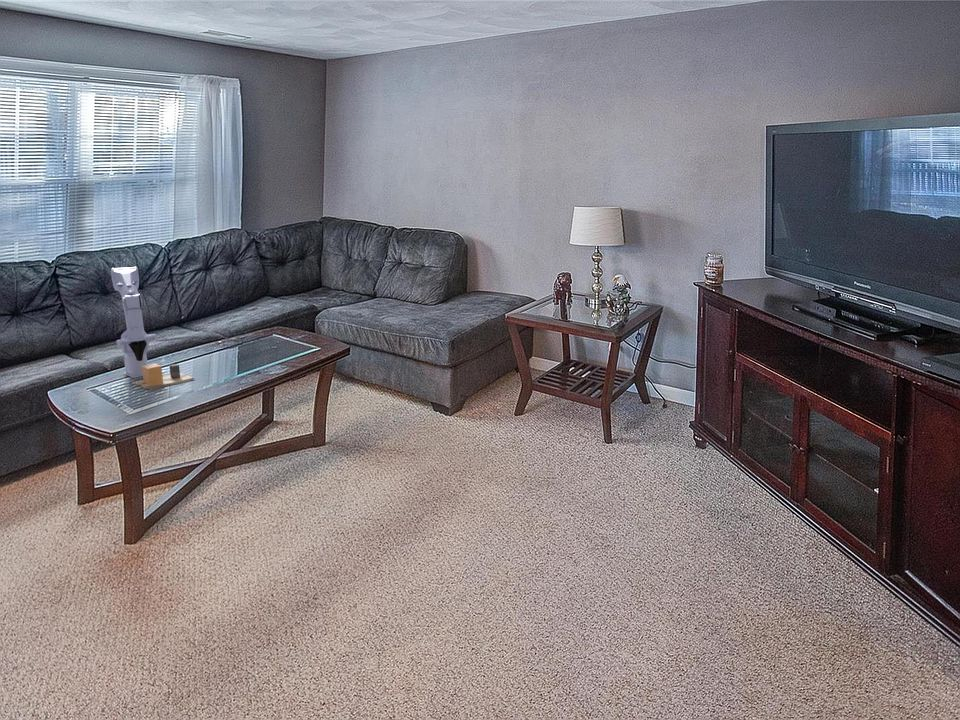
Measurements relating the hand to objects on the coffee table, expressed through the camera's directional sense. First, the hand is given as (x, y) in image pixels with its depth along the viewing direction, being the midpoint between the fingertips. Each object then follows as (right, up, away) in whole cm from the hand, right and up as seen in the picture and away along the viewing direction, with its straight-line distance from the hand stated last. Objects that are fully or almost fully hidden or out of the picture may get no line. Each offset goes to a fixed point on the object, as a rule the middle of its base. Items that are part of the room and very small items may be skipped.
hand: (139, 360), depth 285 cm
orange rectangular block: (+5, -8, +1) cm, 10 cm away
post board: (+8, -8, +5) cm, 12 cm away
